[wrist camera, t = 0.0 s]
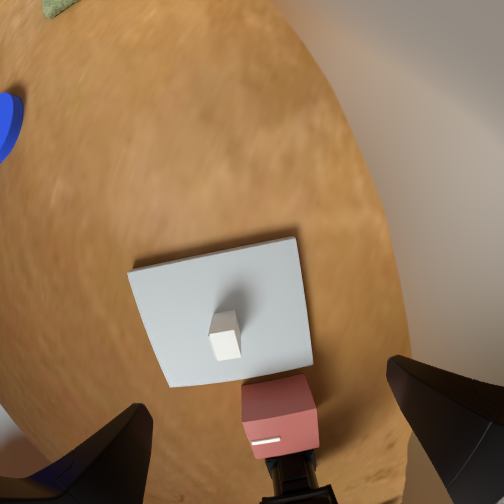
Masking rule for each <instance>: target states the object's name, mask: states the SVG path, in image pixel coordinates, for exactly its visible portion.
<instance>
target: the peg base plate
mask: <svg viewBox="0 0 504 504" xmlns="http://www.w3.org/2000/svg"><path fill="white" fill-rule="evenodd" d="M127 275H128V278H129V281H130V285H131V288H132V291H133V294H134V297H135V300H136V303H137V306H138V309H139V312H140V315H141V318H142V320H143V323H144V326H145V329H146V331H147V334H148V337H149V339H150V342H151V344H152V347H153V349H154V352H155V354H156V357H157V359H158V361H159V364H160V366H161V369H162V371H163V373H164V375H165V378H166V380H167V382H168V384H169V386H170V387H182V386H193V385H202V384H211V383H219V382H226V381H233V380H240V379H246V378H252V377H257V376H263V375H268V374H273V373H278V372H283V371H288V370H292V369H297V368H301V367H305V366H309V365H313V357H312V348H311V340H310V332H309V324H308V316H307V309H306V302H305V295H304V288H303V281H302V275H301V268H300V262H299V256H298V249H297V243H296V238H295V237H293V236H290V237H285V238H280V239H275V240H270V241H265V242H260V243H255V244H251V245H246V246H241V247H236V248H231V249H226V250H221V251H216V252H212V253H207V254H202V255H197V256H192V257H187V258H183V259H178V260H173V261H168V262H164V263H159V264H154V265H149V266H145V267H140V268H135V269H132V270H130V271H129V272H128V273H127Z"/></svg>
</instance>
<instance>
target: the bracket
mask: <svg viewBox="0 0 504 504" xmlns="http://www.w3.org/2000/svg"><path fill="white" fill-rule="evenodd" d="M22 121H23V104H22V101H21V99H20V98H19V97H17V96H14V95H12V94H9V93H1V94H0V163H1V162H2V161H3V160H4V159H5V158H6V157H7V156H8V154H9V153H10V152H11V150H12V148H13V147H14V145H15V143H16V141H17V138H18V136H19V133H20V129H21V126H22Z"/></svg>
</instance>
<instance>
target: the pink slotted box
mask: <svg viewBox="0 0 504 504" xmlns="http://www.w3.org/2000/svg"><path fill="white" fill-rule="evenodd" d="M241 390H242V424H243V426H244V429H245V432H246V434H247V437H248V440H249V442H250V445H251V447H252V450H253V453H254V455H255V458H256V459H261V458H268V457H274V456H280V455H285V454H290V453H295V452H300V451H304V450H309V449H313V448H317V447H319V433H318V421H317V409H316V405H315V403H314V400H313V397H312V394H311V391H310V388H309V385H308V382H307V380H306V377H305V374H299V375H295V376H291V377H286V378H281V379H276V380H271V381H266V382H261V383H255V384H249V385H243V386H241Z"/></svg>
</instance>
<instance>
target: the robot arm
mask: <svg viewBox="0 0 504 504" xmlns="http://www.w3.org/2000/svg"><path fill="white" fill-rule="evenodd" d="M386 377H387V381H388V383H389V385H390V387H391V390H392V392H393V394H394V396H395V398H396V401H397V403H398V405H399V407H400V409H401V411H402V413H403V415H404V416H405V418H406V420H407V421H408V423H409V425H410V426H411V428H412V430H413V431H414V433H415V435H416V436H417V438H418V440H419V441H420V443H421V445H422V447H423V448H424V450H425V452H426V453H427V455H428V457H429V459H430V460H431V462H432V464H433V466H434V468H435V469H436V471H437V473H438V475H439V476H440V478H441V480H442V482H443V484H444V486H445V488H446V489H447V491H448V493H449V495H450V497H451V499H452V501H453V503H454V504H504V387H503V386H498V385H493V384H489V383H485V382H481V381H478V380H475V379H473V380H472V379H471V378H467V377H464V376H461V375H458V374H455V373H452V372H449V371H445V370H443V369H439V368H436V367H433V366H430V365H427V364H425V363H421V362H418V361H415V360H413V359H410V358H407V357H404V356H401V355H395V356H392V357H390V358H389V359H388V361H387V372H386ZM152 434H153V419H152V416H151V415H150V413H149V411H148V410H147V408H146V406H145V405H144V404H143V403H133V404H132V405H131V406H129V407H128V408H127V409H126V410H124V411H123V412H122V413H120V414H119V415H118V416H117V417H115V418H114V419H113V420H112V421H110V422H109V423H108V424H106V425H105V426H104V427H103V428H101V429H100V430H99V431H97V432H96V433H95V434H93V435H92V436H91V437H89V438H88V439H87V440H85V441H84V442H83V443H81V444H80V445H79V446H77V447H76V448H75V449H74V450H72V451H70V452H69V453H68V454H66V455H65V456H63V457H62V458H60V459H59V460H57V461H56V462H54V463H52V464H51V465H49V466H47V467H45V468H44V469H42V470H40V471H38V472H36V473H35V474H33V475H31V476H29V477H26V478H20V479H16V478H8V477H2V476H0V504H143V498H144V491H145V485H146V480H147V474H148V468H149V463H150V457H151V448H152ZM265 462H266V465H267V468H268V471H269V473H270V476H271V479H272V480H273V487H274V495H275V496H273V497H262V502H260V503H259V504H338V503H337V500H336V497H335V495H334V492H333V489H332V487H331V484H329V485H326V486H324V487H320V488H319V486H318V482H317V478H316V474H315V471H316V465H315V454H314V450H313V449H310V450H305V451H301V452H296V453H291V454H286V455H281V456H275V457H269V458H266V459H265Z"/></svg>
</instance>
